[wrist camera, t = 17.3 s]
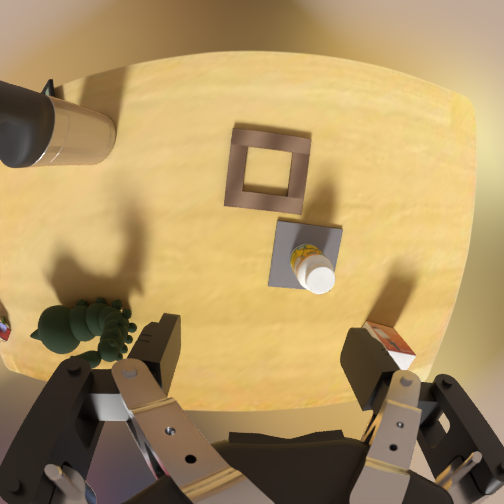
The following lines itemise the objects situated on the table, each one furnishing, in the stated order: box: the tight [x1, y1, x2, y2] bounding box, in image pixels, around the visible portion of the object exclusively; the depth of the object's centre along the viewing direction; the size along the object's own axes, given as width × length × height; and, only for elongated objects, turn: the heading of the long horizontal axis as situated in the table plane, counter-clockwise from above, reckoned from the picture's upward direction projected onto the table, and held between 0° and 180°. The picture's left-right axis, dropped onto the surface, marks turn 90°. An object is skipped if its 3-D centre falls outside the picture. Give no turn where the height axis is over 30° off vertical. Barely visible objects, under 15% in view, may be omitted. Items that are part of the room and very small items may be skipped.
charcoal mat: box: [268, 221, 343, 291], centre depth 45 cm, size 11×11×1 cm
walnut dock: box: [224, 128, 311, 215], centre depth 40 cm, size 12×12×1 cm
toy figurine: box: [30, 297, 137, 369], centre depth 38 cm, size 9×19×25 cm
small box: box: [362, 321, 416, 370], centre depth 45 cm, size 8×6×10 cm
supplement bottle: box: [290, 244, 335, 294], centre depth 40 cm, size 5×5×10 cm
